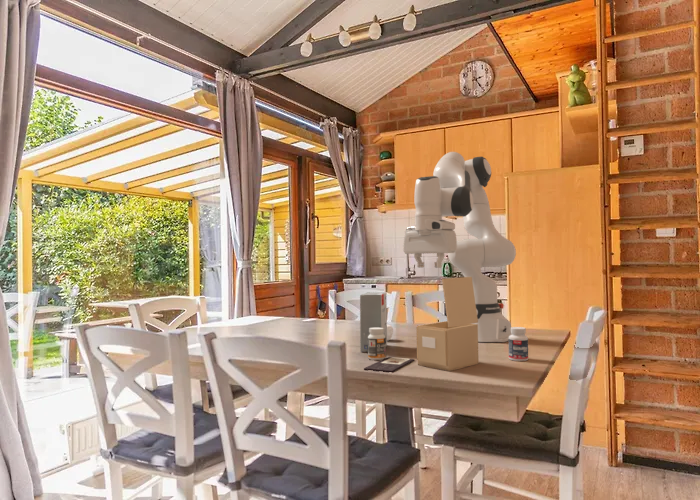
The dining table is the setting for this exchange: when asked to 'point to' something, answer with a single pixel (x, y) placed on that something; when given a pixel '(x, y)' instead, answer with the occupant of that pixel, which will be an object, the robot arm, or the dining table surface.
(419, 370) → the dining table surface
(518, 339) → the pill bottle
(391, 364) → the chocolate bar
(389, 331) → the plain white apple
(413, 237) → the robot arm
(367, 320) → the hard drive box
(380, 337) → the pill bottle
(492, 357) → the dining table surface
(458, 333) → the carton
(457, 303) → the flap
